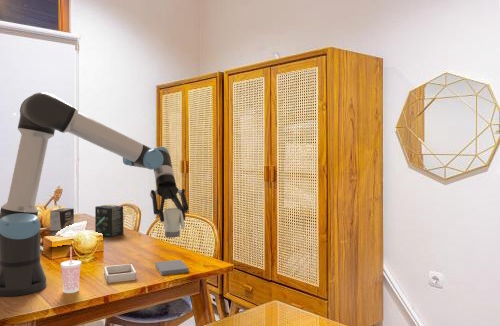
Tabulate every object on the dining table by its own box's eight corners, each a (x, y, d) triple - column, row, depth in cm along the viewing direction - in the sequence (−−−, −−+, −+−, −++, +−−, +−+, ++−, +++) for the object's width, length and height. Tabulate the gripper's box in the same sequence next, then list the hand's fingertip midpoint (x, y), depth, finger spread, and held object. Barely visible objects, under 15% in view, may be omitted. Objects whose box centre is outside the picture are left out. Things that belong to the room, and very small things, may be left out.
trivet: (161, 275, 151) (161, 271, 151) (155, 266, 162) (155, 262, 162) (188, 272, 155) (188, 268, 155) (180, 263, 166) (180, 259, 166)
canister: (166, 238, 155) (166, 211, 154) (163, 234, 160) (163, 208, 159) (181, 236, 157) (181, 210, 156) (177, 233, 162) (177, 207, 161)
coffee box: (62, 247, 189) (62, 211, 188) (49, 246, 190) (49, 210, 189) (74, 242, 197) (74, 208, 197) (62, 241, 199) (62, 207, 198)
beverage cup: (58, 294, 131) (58, 250, 130) (63, 287, 137) (63, 245, 136) (79, 293, 132) (79, 249, 131) (83, 286, 138) (83, 244, 137)
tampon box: (123, 234, 216) (123, 205, 216) (109, 237, 208) (109, 208, 208) (109, 231, 222) (109, 204, 221) (94, 234, 214) (94, 206, 214)
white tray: (107, 282, 142) (107, 275, 142) (104, 273, 152) (104, 266, 152) (136, 279, 146) (136, 272, 146) (131, 270, 156) (131, 263, 156)
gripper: (186, 184, 175) (197, 231, 161) (140, 185, 168) (147, 235, 153) (189, 172, 170) (201, 220, 156) (142, 173, 162) (150, 223, 148)
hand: (174, 227), depth 155 cm, fingers closed on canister, 6 cm apart
